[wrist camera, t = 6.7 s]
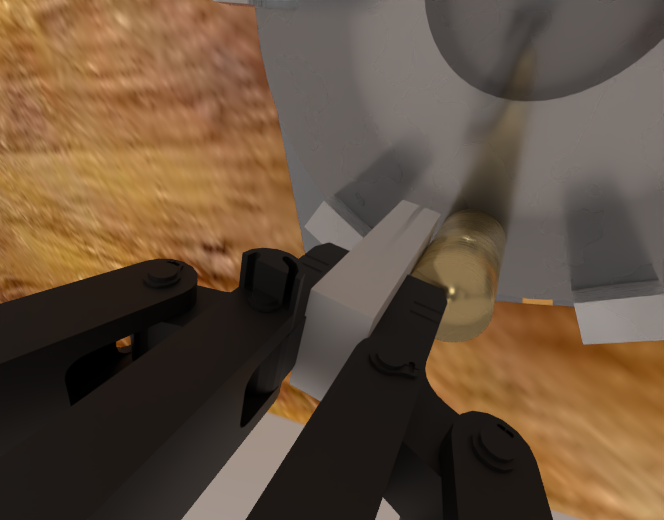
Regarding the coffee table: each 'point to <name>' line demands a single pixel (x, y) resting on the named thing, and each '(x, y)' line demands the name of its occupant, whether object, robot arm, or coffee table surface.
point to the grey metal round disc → (488, 144)
